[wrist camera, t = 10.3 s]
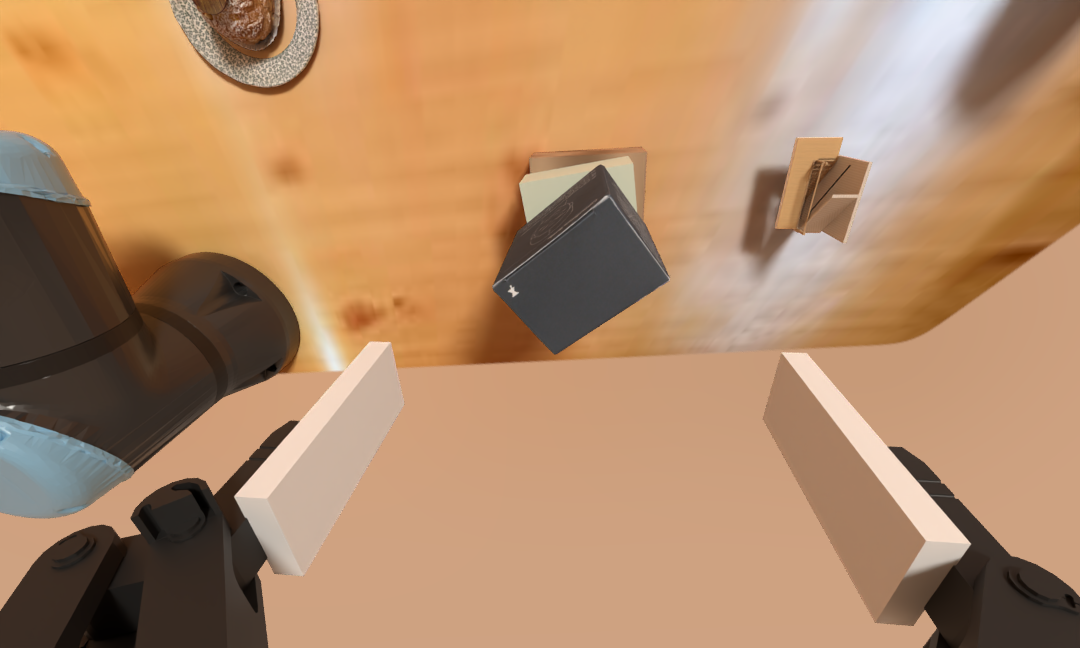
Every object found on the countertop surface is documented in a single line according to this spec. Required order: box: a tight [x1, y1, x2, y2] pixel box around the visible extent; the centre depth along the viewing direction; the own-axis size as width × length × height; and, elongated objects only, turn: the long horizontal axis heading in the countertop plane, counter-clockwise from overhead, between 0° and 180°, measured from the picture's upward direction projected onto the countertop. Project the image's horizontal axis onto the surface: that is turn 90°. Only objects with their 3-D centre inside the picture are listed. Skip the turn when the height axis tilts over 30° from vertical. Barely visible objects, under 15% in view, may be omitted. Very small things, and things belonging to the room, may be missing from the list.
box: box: [492, 164, 670, 355], centre depth 27 cm, size 8×6×11 cm
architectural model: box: [775, 137, 872, 243], centre depth 33 cm, size 3×7×7 cm, turn 1°
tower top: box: [519, 156, 637, 223], centre depth 33 cm, size 8×8×4 cm
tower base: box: [529, 147, 647, 220], centre depth 36 cm, size 9×9×4 cm
